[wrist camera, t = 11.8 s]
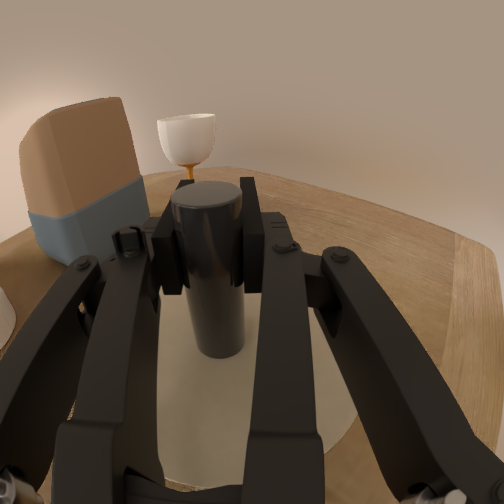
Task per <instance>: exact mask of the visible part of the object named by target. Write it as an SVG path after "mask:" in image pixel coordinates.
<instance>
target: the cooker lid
mask: <svg viewBox="0 0 504 504" xmlns="http://www.w3.org/2000/svg"><path fill="white" fill-rule="evenodd" d="M170 201H171V209H172V216H173V223H174V230H175V236H176V243H177V249H178V255H179V261H180V267H181V272H182V278H183V283H184V285H183V290H182V294H181V295H164V294H163V290H162V286H161V288H160V291H159V295H160V299H161V312H160V325H159V341H158V363H157V442H158V456H159V460H160V463H161V465H162V468H163V472H164V478H165V479H166V480H168V481H171V482H174V483H178V484H181V485H185V486H189V487H193V488H200V489H210V488H215V487H220V486H225V485H237V484H243V476H244V467H245V457H246V448H247V440H248V434H249V429H250V419H251V409H252V398H253V387H254V376H255V365H256V353H257V342H258V330H259V318H260V305H261V293H251V294H244V271H243V201H242V190H241V189H240V188H239V187H238V186H237V185H234V184H231V183H227V182H220V181H206V182H198V183H193V184H189V185H186V186H183V187H181V188H179V189H177V190H175V191H174V192H173V193H172V194H171V197H170ZM308 312H309V323H310V333H311V345H312V357H313V371H314V386H315V403H316V424H317V431H318V433H319V435H320V436H321V438H322V441H323V449H324V455H325V454H326V453H327V452H328V451H329V450H331V449H332V448H333V447H334V446H335V445H336V444H337V443H338V441H339V440H340V439H341V438H342V437H343V435H344V434H345V433H346V432H347V431H348V429H349V428H350V427H351V425H352V424H353V422H354V420H355V418H356V417H357V415H358V412H357V410H356V407H355V405H354V403H353V400H352V398H351V396H350V393H349V391H348V389H347V386H346V384H345V381H344V379H343V377H342V375H341V372H340V370H339V368H338V365H337V363H336V361H335V358H334V356H333V354H332V352H331V349H330V347H329V345H328V343H327V340H326V338H325V336H324V334H323V331H322V329H321V327H320V325H319V323H318V320H317V318H316V316H315V314H314V311H313V308H310V307H308Z"/></svg>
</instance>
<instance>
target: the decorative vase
mask: <svg viewBox="0 0 504 504" xmlns="http://www.w3.org/2000/svg"><path fill="white" fill-rule="evenodd" d="M15 324H16V313H15V311H14V309H13V307H12V305H11V304H10V302H9V300H8V298H7V296H6V295H5V293H4V291H3V289H2V288H1V287H0V350H1V349H2V348H3V347H4V346H5V344H6V343H7V341H8V340H9V338H10V336H11V334H12V332H13V329H14V328H15Z"/></svg>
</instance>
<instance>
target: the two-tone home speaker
mask: <svg viewBox="0 0 504 504" xmlns="http://www.w3.org/2000/svg"><path fill="white" fill-rule="evenodd" d="M19 158H20V170H21V177H22V182H23V187H24V191H25V196H26V200H27V205H28V209H29V210H28V214H29V218H30V221H31V224H32V227H33V231H34V234H35V237H36V240H37V243H38V244H39V246H40V247H41V249H42V250H43V251H44V252H45V254H46V255H47V256H49V257H51V258H52V259H54V260H56V261H58V262H60V263H62V264H64V265H67V266H69V265H70V264H71V263H72V262H73V261H74V260H75V259H77V258H79V257H80V256H83V255H94V256H96V257H97V258H98V261H99V264H101V263H106V262H110V261H111V260H112V259H113V258H115V257H116V250H115V247H114V243H113V240H112V236H111V235H112V234H113V233H114V232H115V231H116V230H118V229H119V228H122V227H124V226H129V225H139V226H142V225H143V224H144V222H146V221H147V220H148V219H149V218H150V212H149V207H148V203H147V198H146V193H145V188H144V183H143V177H142V175H140V171H139V167H138V163H137V158H136V154H135V149H134V145H133V140H132V135H131V131H130V127H129V124H128V121H127V117H126V114H125V111H124V107H123V104H122V100H121V98H119V97H109V98H100V99H96V100H91V101H86V102H81V103H78V104H74V105H69V106H65V107H61V108H58V109H55V110H52V111H51V112H49V113H47V114H46V115H44V116H43V117H41V118H39V119H38V120H37V121H36V122H35V123H34V124H33V125H32V126H31V127H30V129H29V130H28V132H27V134H26V135H25V137H24V138H23V140H22V141H21V143H20V146H19Z"/></svg>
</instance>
